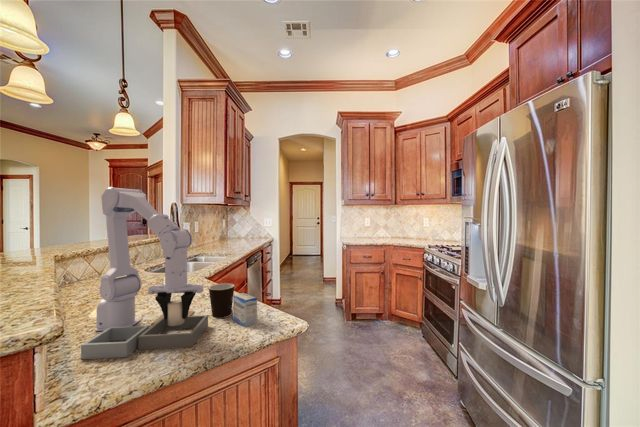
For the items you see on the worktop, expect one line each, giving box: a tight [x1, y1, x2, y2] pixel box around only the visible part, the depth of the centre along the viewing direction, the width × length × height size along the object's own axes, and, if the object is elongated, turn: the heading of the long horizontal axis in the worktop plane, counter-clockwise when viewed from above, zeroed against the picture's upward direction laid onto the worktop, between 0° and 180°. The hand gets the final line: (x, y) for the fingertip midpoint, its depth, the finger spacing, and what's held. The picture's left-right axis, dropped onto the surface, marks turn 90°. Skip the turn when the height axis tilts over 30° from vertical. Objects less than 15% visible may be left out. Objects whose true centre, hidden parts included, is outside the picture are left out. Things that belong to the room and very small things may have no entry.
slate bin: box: [80, 325, 150, 360], centre depth 73 cm, size 11×11×4 cm
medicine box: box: [232, 292, 258, 328], centre depth 90 cm, size 8×4×9 cm, turn 47°
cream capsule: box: [168, 299, 185, 326], centre depth 79 cm, size 4×4×6 cm
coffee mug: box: [208, 282, 235, 319], centre depth 98 cm, size 12×9×10 cm
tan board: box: [150, 310, 195, 326], centre depth 93 cm, size 10×10×1 cm
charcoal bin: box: [137, 314, 209, 351], centre depth 79 cm, size 14×14×4 cm
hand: (176, 317), depth 79 cm, fingers closed on cream capsule, 4 cm apart
